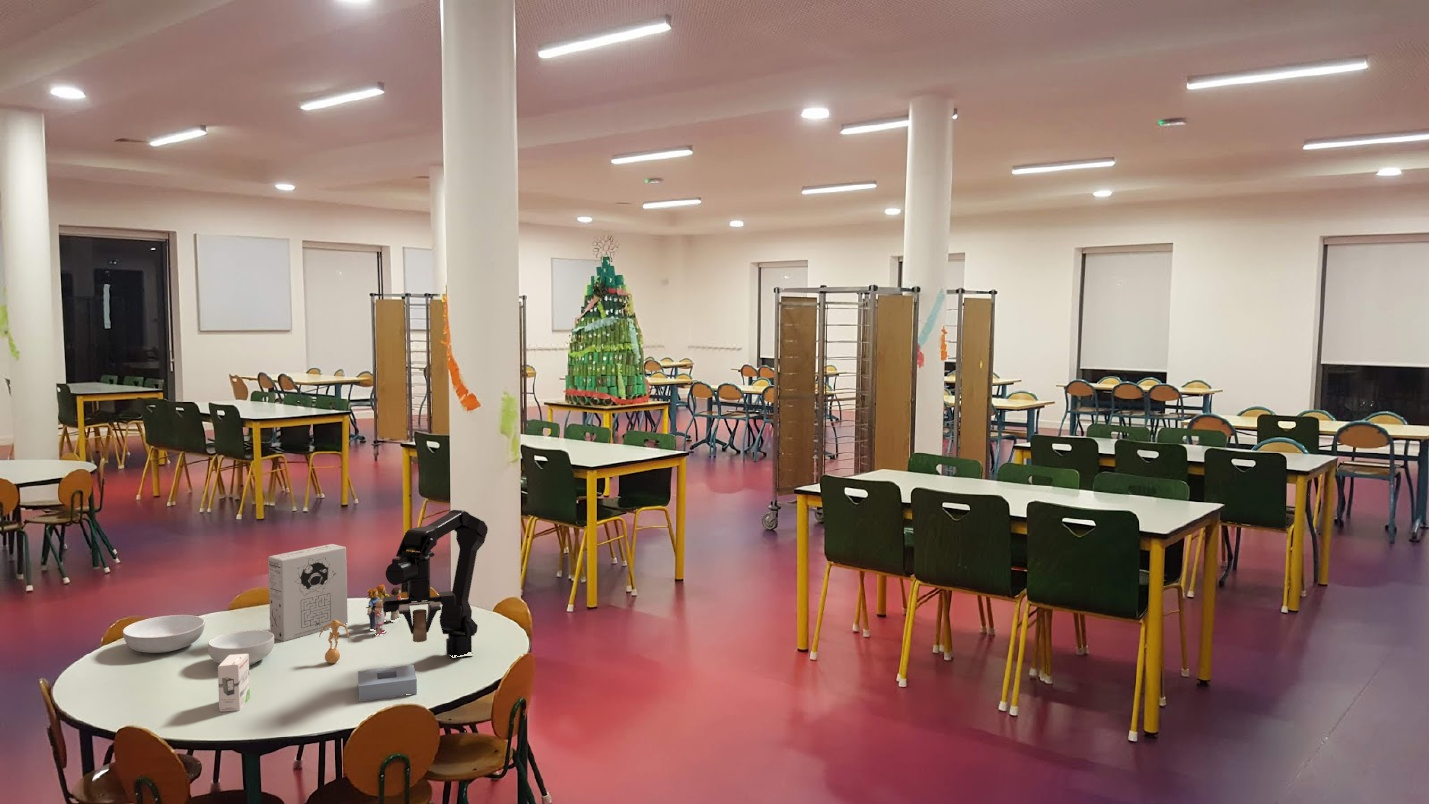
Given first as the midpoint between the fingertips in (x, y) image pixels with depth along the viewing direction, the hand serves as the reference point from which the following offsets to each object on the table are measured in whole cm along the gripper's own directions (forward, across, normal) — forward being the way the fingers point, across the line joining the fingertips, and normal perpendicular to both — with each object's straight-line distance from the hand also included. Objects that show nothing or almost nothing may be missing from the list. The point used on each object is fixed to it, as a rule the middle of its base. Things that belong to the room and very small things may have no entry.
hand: (419, 632), depth 258 cm
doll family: (+12, +9, -48) cm, 50 cm away
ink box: (+13, +45, +4) cm, 47 cm away
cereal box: (+12, +29, -52) cm, 61 cm away
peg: (+2, 0, 0) cm, 2 cm away
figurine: (+12, +22, -20) cm, 32 cm away
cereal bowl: (+13, +46, -28) cm, 55 cm away
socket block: (+12, +9, +7) cm, 17 cm away
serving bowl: (+13, +68, -49) cm, 85 cm away
